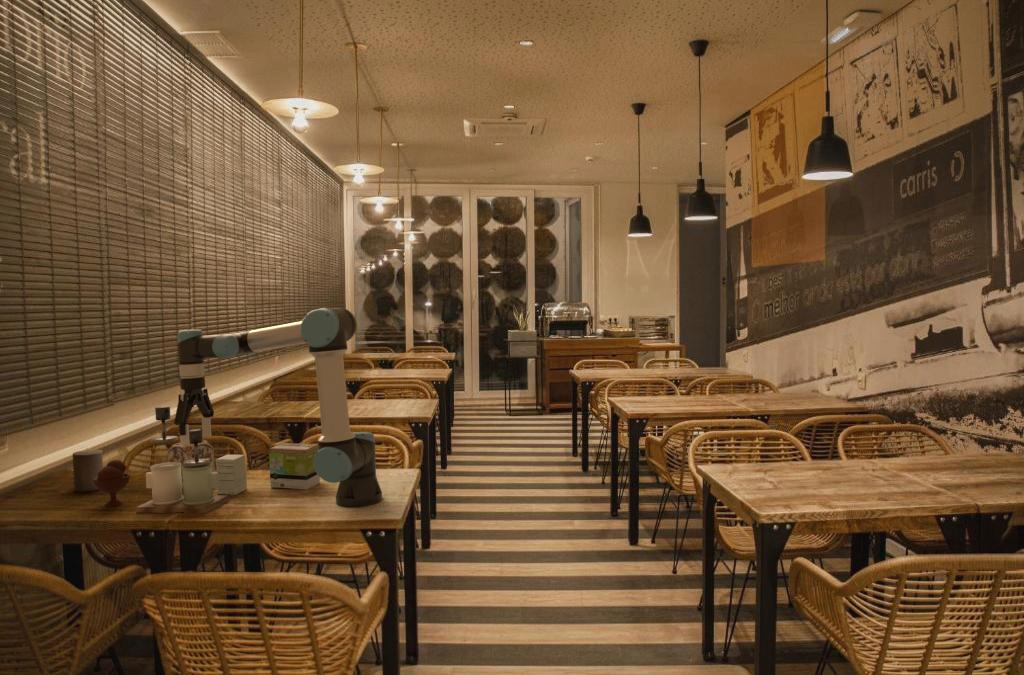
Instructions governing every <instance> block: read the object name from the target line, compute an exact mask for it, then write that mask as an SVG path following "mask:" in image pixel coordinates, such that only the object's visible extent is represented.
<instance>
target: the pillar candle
mask: <svg viewBox="0 0 1024 675" xmlns="http://www.w3.org/2000/svg"><path fill="white" fill-rule="evenodd" d="M103 455H104V453H103V450H102V449H84V450H79V451H78V450H77V451H74V452H73V453H72V470H73V471H72V474H73V486H74V492H76V493H85V492H94V491H97V490H98V491H99V490H100V489H98V488H97V487H96V486H95V484H94V481H93V479H95V478H96V477H98V472H99V471H100V470H102V469H103V468H104V459H103V458H104V457H103Z"/></svg>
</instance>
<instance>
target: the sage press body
mask: <svg viewBox="0 0 1024 675" xmlns="http://www.w3.org/2000/svg"><path fill="white" fill-rule="evenodd" d="M181 468H182V474H183V489H182V493H183V495H184V500H183V504H184V505H201V504H206V503H210V502H212V501H214V500H215V498H214V496H213V495H214V489H218V487H219V479H218V472H217V471H215V472H212V463H209V464H207V465H203V466H196V467H186V466H182V467H181Z"/></svg>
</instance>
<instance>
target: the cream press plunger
mask: <svg viewBox="0 0 1024 675" xmlns="http://www.w3.org/2000/svg"><path fill="white" fill-rule="evenodd" d="M154 409H155V410H154V411H155V420H156V421H160V423H161V436H157V437H152V438H151V439H150V443H151V444H165V443H173V442H175V441H176V442H177V440H178V439H179V438H178V436H177V435H167V425H166V421H167V420H168V421H169V420H171V419H172V418H171V407H170V406H168V405H163V406H156V407H155V408H154Z"/></svg>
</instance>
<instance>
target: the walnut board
mask: <svg viewBox="0 0 1024 675" xmlns="http://www.w3.org/2000/svg"><path fill="white" fill-rule="evenodd" d="M182 496H183V497H184V494H182ZM213 496H214V498H215V500H214V501H212V502H210V503H206V504H201V505H184V504H183V500H184V499H183V500H182V501H180V502H178V503H174V504H168V505H154V504H152V500H153V499H150V500H149V501H146V502H144V503H141V504H140V505H138V506H136V513H147V514H151V513H152V514H153V513H154V514H155V513H156V514H158V513H161V514H162V513H167V514H171V513H173V514H175V513H176V512H184V513H185V514H208V513H209V512H211V511H213V510H214V509H217V508H218V507H220V506H221V505H223V504H225V503H227V502H228V501H229V494H218V495H215V494H213ZM176 514H177V513H176Z"/></svg>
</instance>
